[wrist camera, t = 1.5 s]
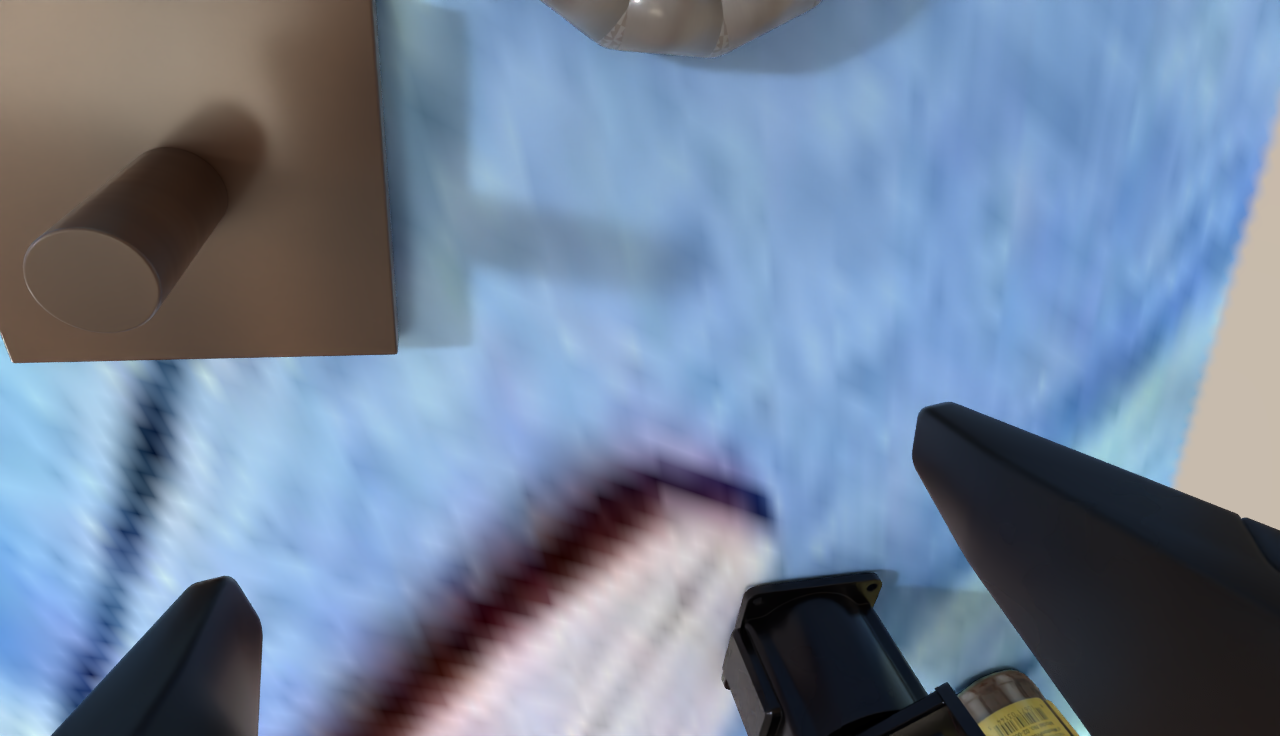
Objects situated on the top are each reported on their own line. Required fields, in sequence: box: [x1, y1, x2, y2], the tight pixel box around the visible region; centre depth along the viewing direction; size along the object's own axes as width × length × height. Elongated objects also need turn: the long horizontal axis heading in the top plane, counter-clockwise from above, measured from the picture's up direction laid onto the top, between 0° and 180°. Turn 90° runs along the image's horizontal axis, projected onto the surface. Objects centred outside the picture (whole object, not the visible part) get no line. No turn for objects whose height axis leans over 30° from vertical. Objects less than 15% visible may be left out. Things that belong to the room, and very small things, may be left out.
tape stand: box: [0, 0, 399, 363], centre depth 15 cm, size 9×9×6 cm
